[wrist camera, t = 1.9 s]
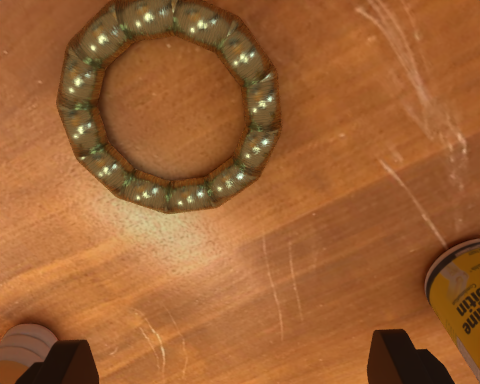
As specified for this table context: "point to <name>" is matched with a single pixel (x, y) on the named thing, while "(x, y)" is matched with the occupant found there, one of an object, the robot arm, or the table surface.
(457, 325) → the pill bottle
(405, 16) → the table surface
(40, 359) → the light bulb
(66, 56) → the ring
